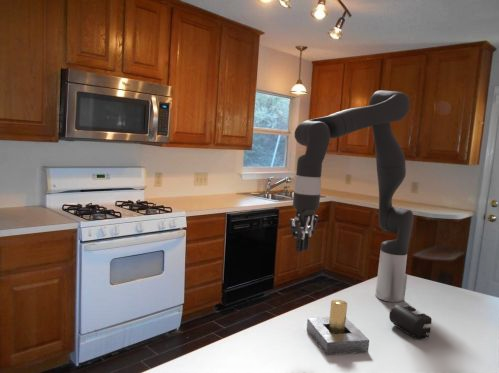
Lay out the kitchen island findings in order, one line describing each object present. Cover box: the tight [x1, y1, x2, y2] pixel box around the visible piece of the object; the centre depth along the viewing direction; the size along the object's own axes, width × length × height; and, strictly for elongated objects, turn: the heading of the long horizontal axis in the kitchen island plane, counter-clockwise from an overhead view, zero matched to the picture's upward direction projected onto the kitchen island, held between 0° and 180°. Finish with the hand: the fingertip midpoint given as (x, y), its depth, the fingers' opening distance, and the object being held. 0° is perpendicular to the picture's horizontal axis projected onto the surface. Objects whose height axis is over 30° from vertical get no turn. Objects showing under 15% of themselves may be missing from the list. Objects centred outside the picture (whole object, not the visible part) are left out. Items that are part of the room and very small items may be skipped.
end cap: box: [388, 304, 432, 340], centre depth 122 cm, size 10×7×7 cm
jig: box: [306, 316, 370, 356], centre depth 113 cm, size 12×14×4 cm
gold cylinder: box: [328, 299, 348, 334], centre depth 113 cm, size 4×4×11 cm
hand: (302, 250), depth 118 cm, fingers open, 2 cm apart
